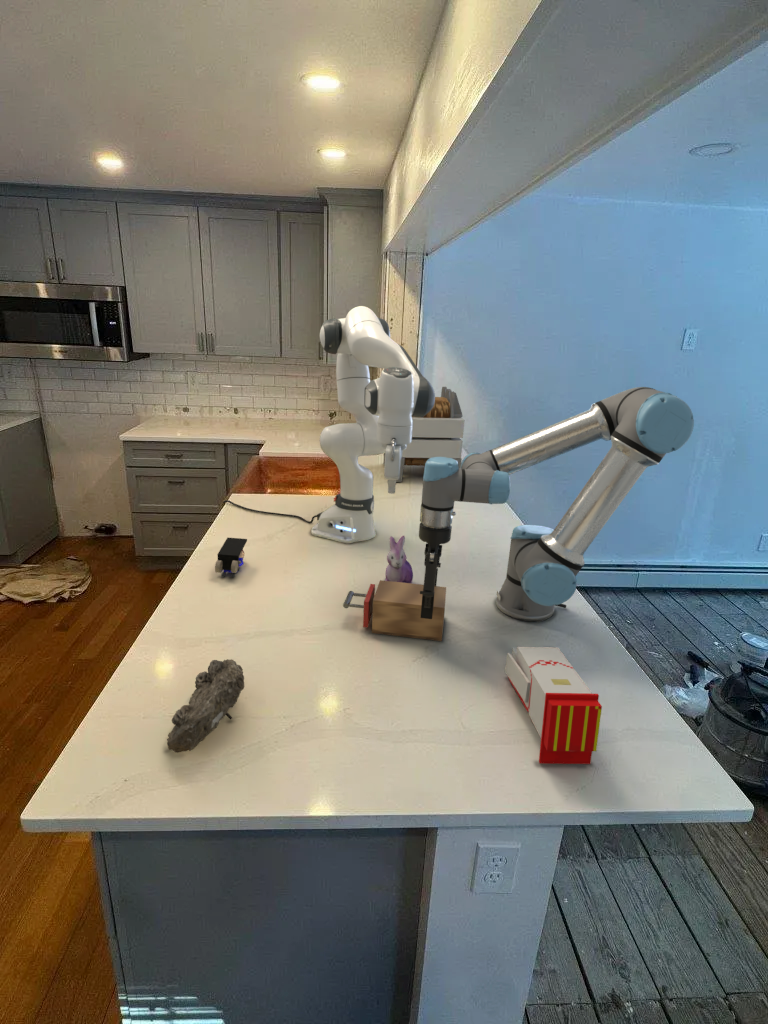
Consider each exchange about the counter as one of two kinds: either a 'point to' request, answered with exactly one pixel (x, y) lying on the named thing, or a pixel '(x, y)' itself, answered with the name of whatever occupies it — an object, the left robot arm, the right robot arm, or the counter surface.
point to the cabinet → (407, 611)
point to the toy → (556, 704)
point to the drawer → (367, 603)
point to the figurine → (398, 563)
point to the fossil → (206, 705)
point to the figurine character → (230, 556)
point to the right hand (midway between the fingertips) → (428, 604)
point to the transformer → (436, 433)
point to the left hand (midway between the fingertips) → (392, 487)
